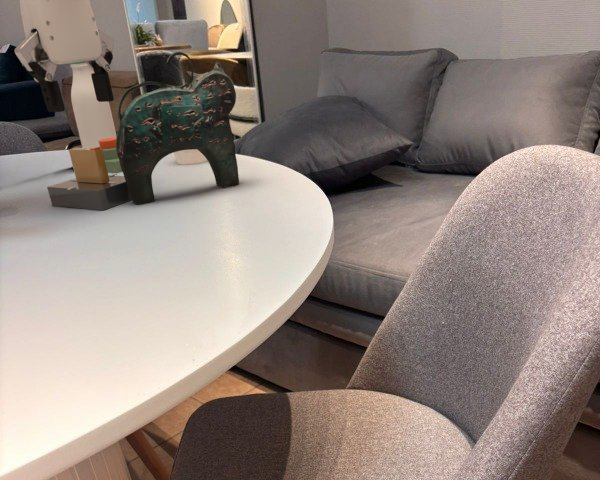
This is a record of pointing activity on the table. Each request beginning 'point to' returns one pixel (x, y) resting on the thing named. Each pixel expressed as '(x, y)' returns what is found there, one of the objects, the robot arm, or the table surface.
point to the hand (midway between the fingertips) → (82, 106)
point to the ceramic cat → (177, 129)
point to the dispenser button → (107, 143)
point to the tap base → (90, 193)
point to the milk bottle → (89, 108)
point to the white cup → (189, 157)
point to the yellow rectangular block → (89, 165)
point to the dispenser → (112, 160)
